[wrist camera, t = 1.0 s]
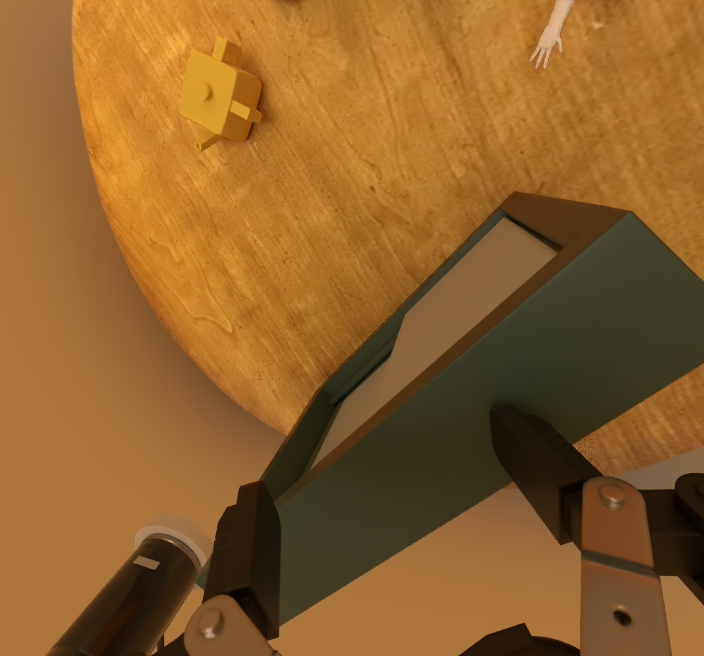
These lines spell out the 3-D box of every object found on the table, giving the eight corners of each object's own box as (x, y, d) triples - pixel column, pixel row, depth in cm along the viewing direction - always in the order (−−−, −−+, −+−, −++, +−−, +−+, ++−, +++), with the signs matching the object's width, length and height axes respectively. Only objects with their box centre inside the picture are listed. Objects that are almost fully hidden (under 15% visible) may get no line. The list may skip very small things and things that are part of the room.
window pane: (369, 426, 39) (309, 605, 23) (339, 401, 39) (257, 562, 22) (449, 358, 34) (446, 519, 18) (416, 328, 34) (383, 463, 18)
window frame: (352, 420, 41) (261, 638, 22) (316, 389, 41) (192, 582, 21) (560, 234, 30) (756, 332, 11) (514, 190, 30) (631, 209, 10)
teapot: (257, 171, 34) (226, 169, 30) (201, 141, 34) (161, 135, 30) (288, 73, 31) (259, 53, 26) (225, 41, 31) (185, 16, 26)
